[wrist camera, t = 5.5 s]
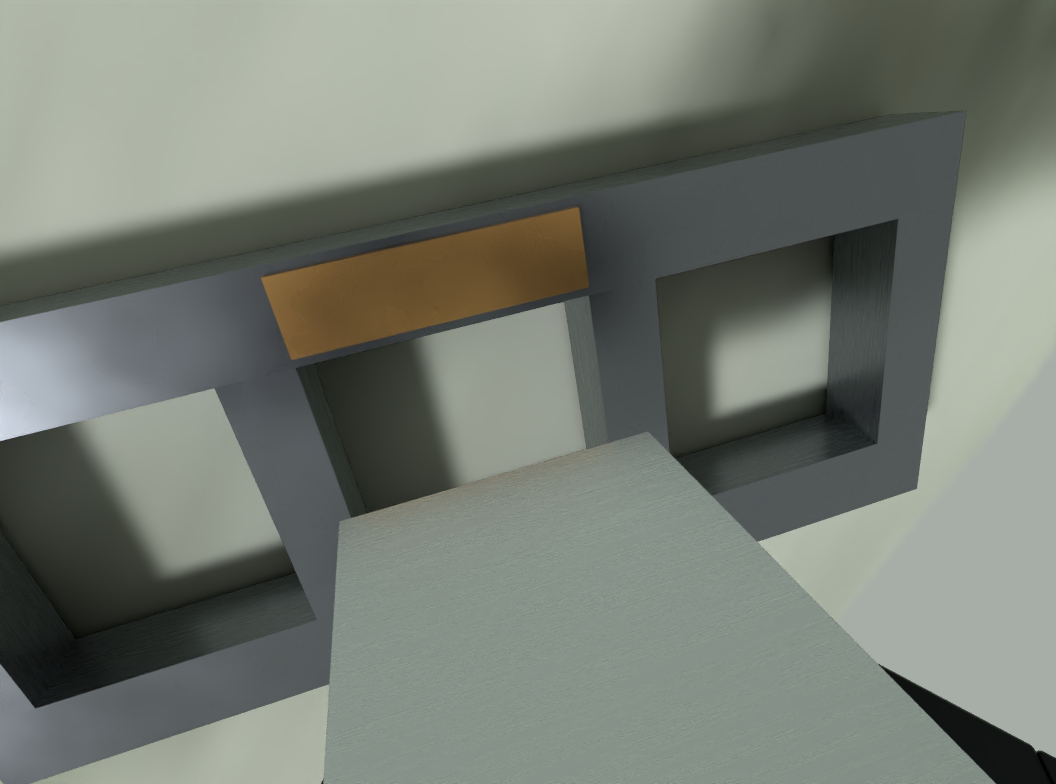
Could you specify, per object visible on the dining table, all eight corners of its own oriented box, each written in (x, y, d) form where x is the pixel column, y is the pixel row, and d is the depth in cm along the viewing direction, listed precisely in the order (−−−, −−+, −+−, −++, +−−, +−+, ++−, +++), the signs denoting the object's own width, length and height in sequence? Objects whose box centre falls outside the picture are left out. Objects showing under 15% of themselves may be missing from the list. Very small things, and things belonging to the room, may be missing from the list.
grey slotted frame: (864, 455, 19) (919, 490, 17) (50, 713, 15) (6, 794, 13) (893, 114, 15) (970, 110, 13) (-228, 354, 11) (-350, 399, 9)
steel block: (670, 649, 11) (985, 1169, 5) (422, 738, 10) (492, 1441, 5) (648, 431, 9) (1108, 897, 3) (339, 521, 8) (290, 1294, 3)
